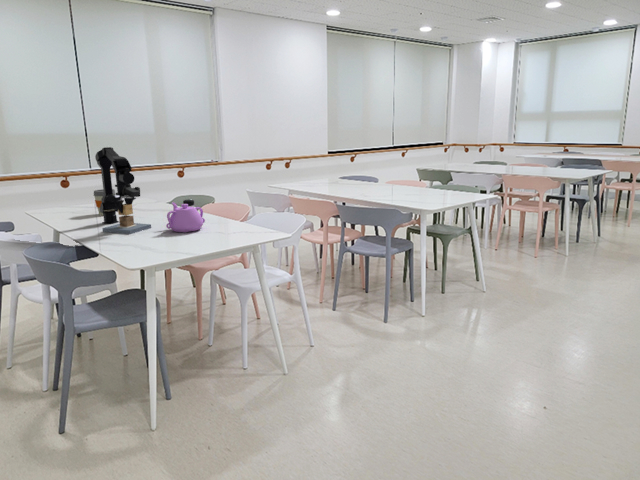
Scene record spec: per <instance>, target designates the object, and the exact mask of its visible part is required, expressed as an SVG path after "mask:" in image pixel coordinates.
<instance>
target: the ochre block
mask: <svg viewBox="0 0 640 480" xmlns="http://www.w3.org/2000/svg"><path fill="white" fill-rule="evenodd" d="M117 213H118V216H125V215H129V216H131V215H133V214H134V211H133V203H132V204H126V203H123V213H121V212H120V211H119V209H118V212H117Z"/></svg>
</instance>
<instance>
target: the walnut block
mask: <svg viewBox="0 0 640 480" xmlns="http://www.w3.org/2000/svg"><path fill="white" fill-rule="evenodd" d="M118 221H119V222H118V223H119V224H120V226H123V227H129V226H132V225H134V223H135V221H134V215H120V216H118Z"/></svg>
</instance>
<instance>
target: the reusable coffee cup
mask: <svg viewBox="0 0 640 480" xmlns="http://www.w3.org/2000/svg"><path fill="white" fill-rule="evenodd" d="M112 191H113V195H116V189H113V188H112ZM103 195H104V191H103V189H96V190H93V196H94V199H95V200H94V201H95V202H94V203H95V206H96V208H97V212H98V215H99V216H103V213H101V212H100V206H101V203H102V201H101V199H102V197H103ZM104 211H107V210H104Z"/></svg>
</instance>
